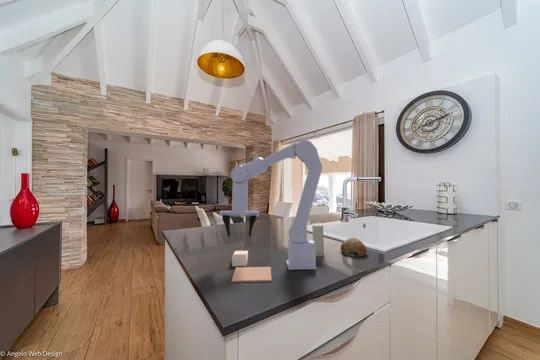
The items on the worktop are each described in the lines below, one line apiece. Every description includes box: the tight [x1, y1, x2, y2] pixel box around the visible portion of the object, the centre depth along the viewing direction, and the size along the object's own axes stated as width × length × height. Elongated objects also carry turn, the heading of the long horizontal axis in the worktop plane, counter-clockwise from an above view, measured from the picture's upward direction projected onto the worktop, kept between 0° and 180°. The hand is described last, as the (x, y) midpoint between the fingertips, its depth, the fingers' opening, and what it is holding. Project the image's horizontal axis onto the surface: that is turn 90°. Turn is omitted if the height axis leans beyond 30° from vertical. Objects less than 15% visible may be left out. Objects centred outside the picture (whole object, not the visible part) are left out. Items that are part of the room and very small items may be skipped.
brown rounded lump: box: [340, 237, 368, 257], centre depth 92 cm, size 10×10×8 cm
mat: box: [231, 266, 272, 283], centre depth 71 cm, size 12×10×1 cm
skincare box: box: [311, 223, 325, 257], centre depth 90 cm, size 6×4×12 cm
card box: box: [231, 250, 249, 267], centre depth 82 cm, size 5×7×4 cm
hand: (239, 235), depth 82 cm, fingers open, 7 cm apart
